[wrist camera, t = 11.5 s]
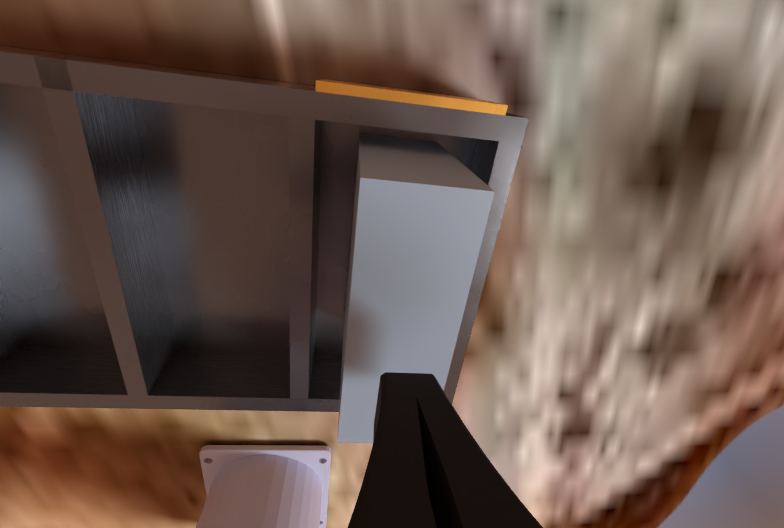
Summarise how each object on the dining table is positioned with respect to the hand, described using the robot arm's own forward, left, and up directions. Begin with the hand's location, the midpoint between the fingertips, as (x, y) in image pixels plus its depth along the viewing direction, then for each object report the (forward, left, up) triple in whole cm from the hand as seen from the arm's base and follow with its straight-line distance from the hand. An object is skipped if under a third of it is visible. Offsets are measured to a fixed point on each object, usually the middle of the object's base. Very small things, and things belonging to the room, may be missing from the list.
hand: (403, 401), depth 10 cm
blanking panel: (+1, 0, -8) cm, 9 cm away
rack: (0, +7, -9) cm, 12 cm away
